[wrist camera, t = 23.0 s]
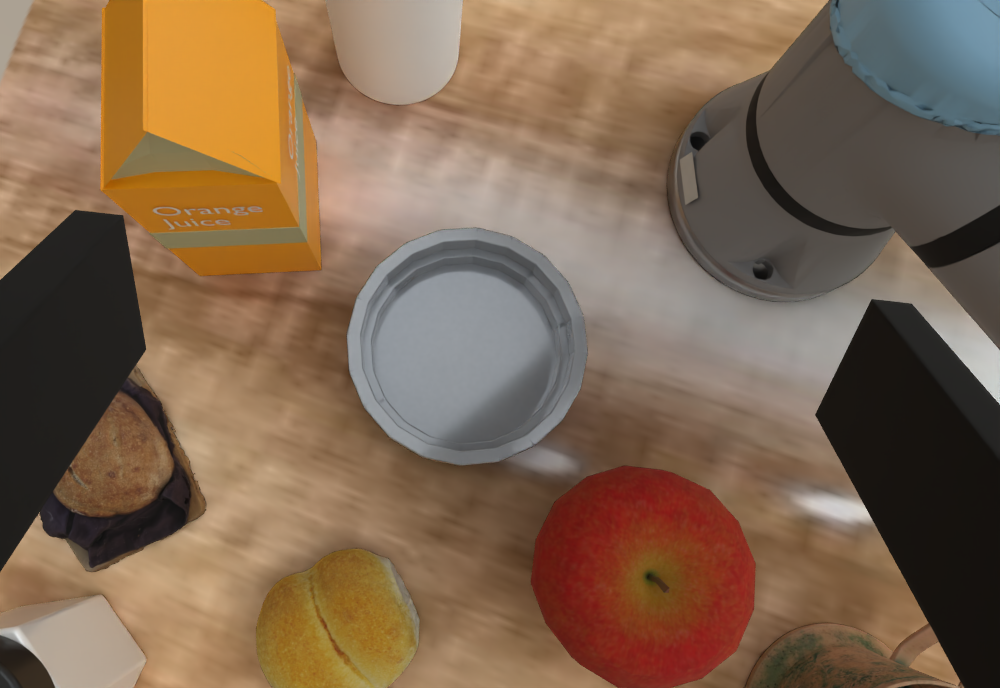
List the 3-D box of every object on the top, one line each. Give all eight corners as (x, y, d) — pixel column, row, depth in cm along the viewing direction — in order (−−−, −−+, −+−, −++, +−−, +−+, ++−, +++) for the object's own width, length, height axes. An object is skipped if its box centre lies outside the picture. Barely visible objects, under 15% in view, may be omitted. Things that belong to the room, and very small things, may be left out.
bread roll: (239, 602, 44) (220, 614, 40) (377, 527, 45) (373, 532, 41) (300, 733, 43) (288, 760, 39) (440, 653, 44) (441, 671, 40)
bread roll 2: (7, 418, 44) (-31, 413, 41) (143, 354, 46) (118, 344, 42) (80, 582, 43) (47, 591, 39) (217, 511, 44) (198, 514, 41)
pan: (521, 217, 49) (529, 195, 45) (608, 411, 48) (625, 406, 44) (320, 294, 47) (310, 278, 43) (405, 501, 46) (403, 504, 42)
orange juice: (197, 277, 47) (31, 135, 27) (195, 144, 48) (37, -82, 28) (324, 271, 47) (253, 129, 28) (319, 140, 49) (248, -82, 29)
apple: (719, 520, 47) (817, 536, 35) (645, 681, 45) (723, 755, 33) (566, 435, 47) (614, 423, 35) (485, 593, 45) (506, 635, 33)
